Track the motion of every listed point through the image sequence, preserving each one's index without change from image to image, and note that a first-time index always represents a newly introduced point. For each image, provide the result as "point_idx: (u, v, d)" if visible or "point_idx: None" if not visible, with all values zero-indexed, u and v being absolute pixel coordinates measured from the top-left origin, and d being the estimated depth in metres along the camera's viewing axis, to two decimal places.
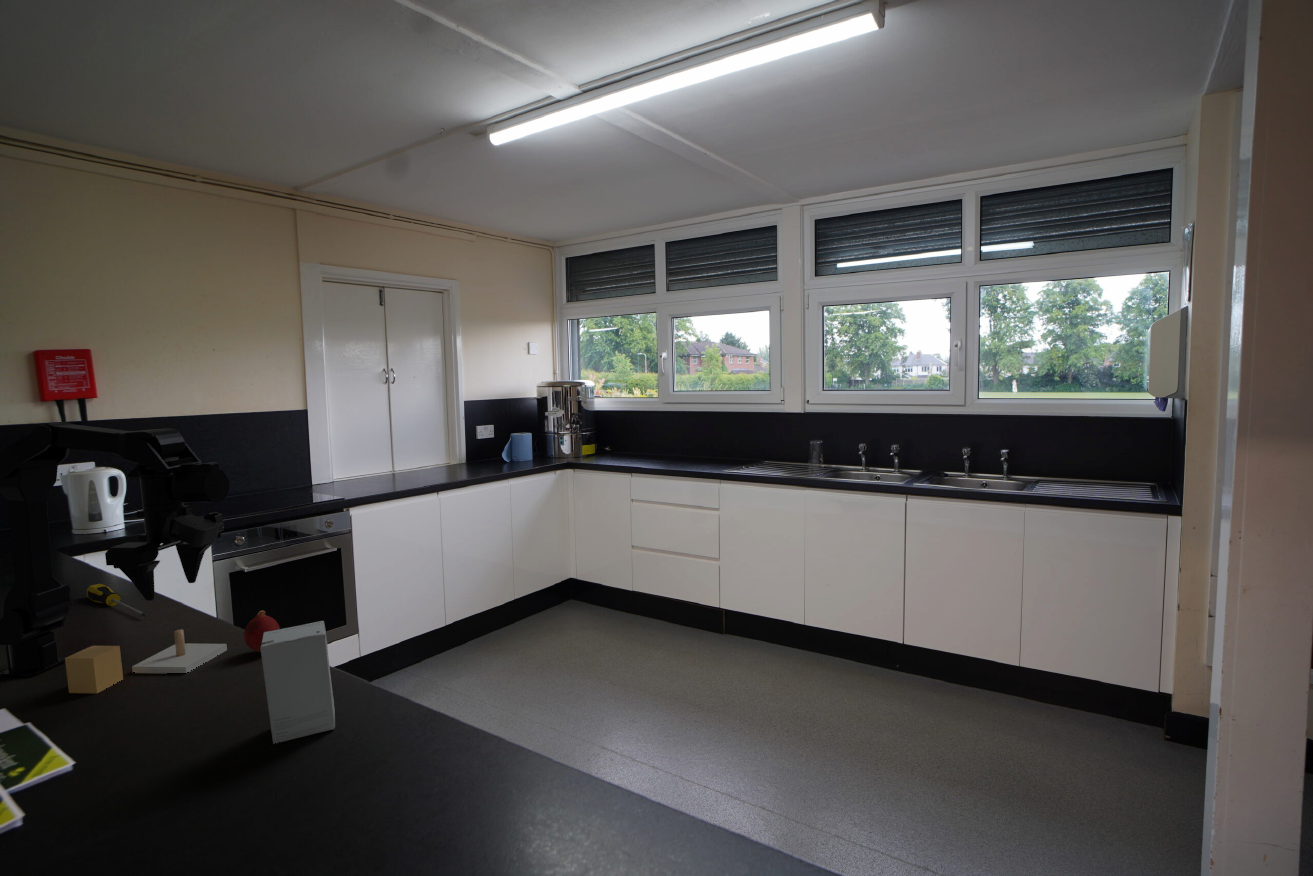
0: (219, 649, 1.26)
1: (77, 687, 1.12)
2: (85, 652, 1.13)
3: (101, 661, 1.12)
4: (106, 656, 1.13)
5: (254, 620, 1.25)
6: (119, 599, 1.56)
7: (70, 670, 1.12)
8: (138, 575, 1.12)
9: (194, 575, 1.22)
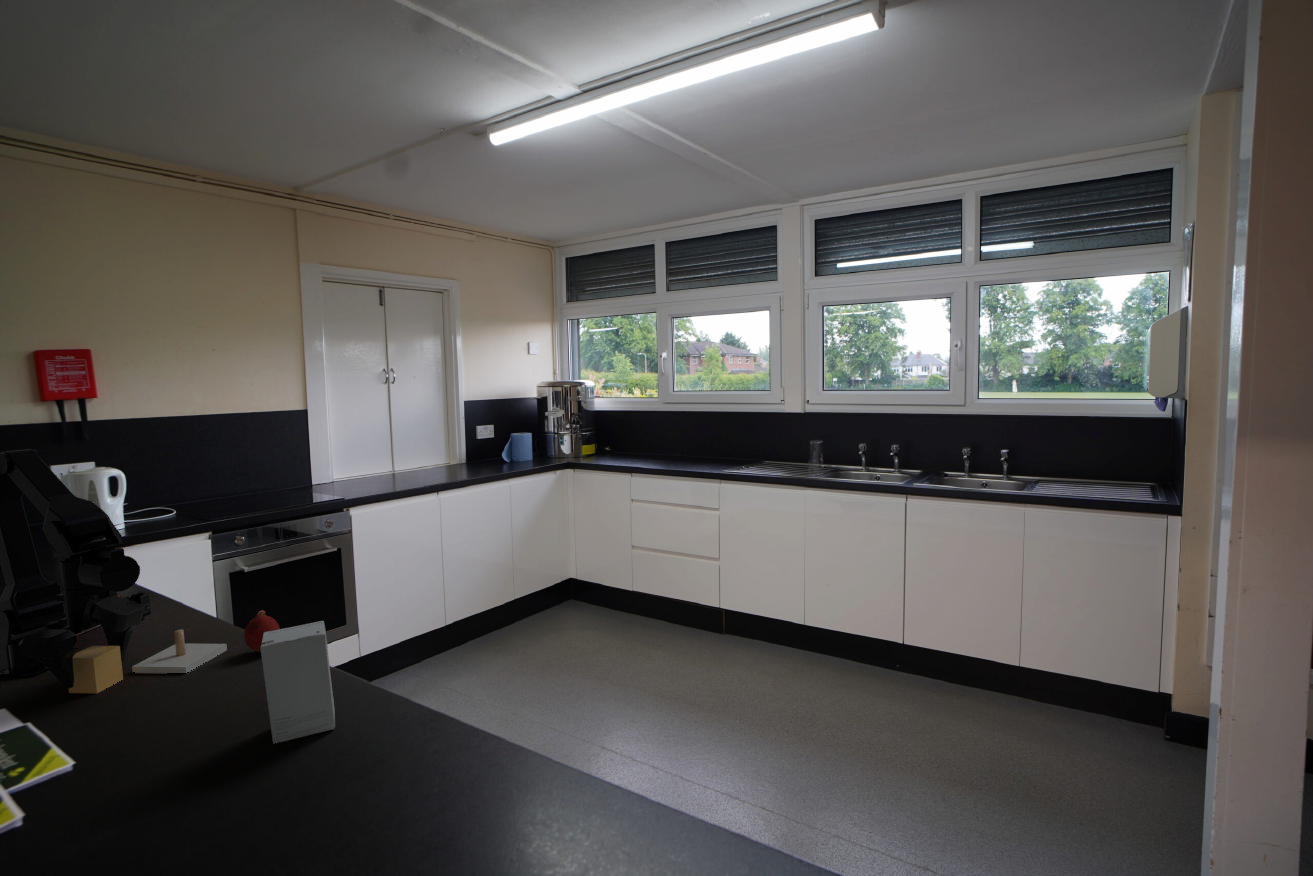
0: (219, 649, 1.26)
1: (77, 687, 1.12)
2: (85, 652, 1.13)
3: (101, 661, 1.12)
4: (106, 656, 1.13)
5: (254, 620, 1.25)
6: None
7: None
8: (56, 663, 1.08)
9: (121, 655, 1.19)
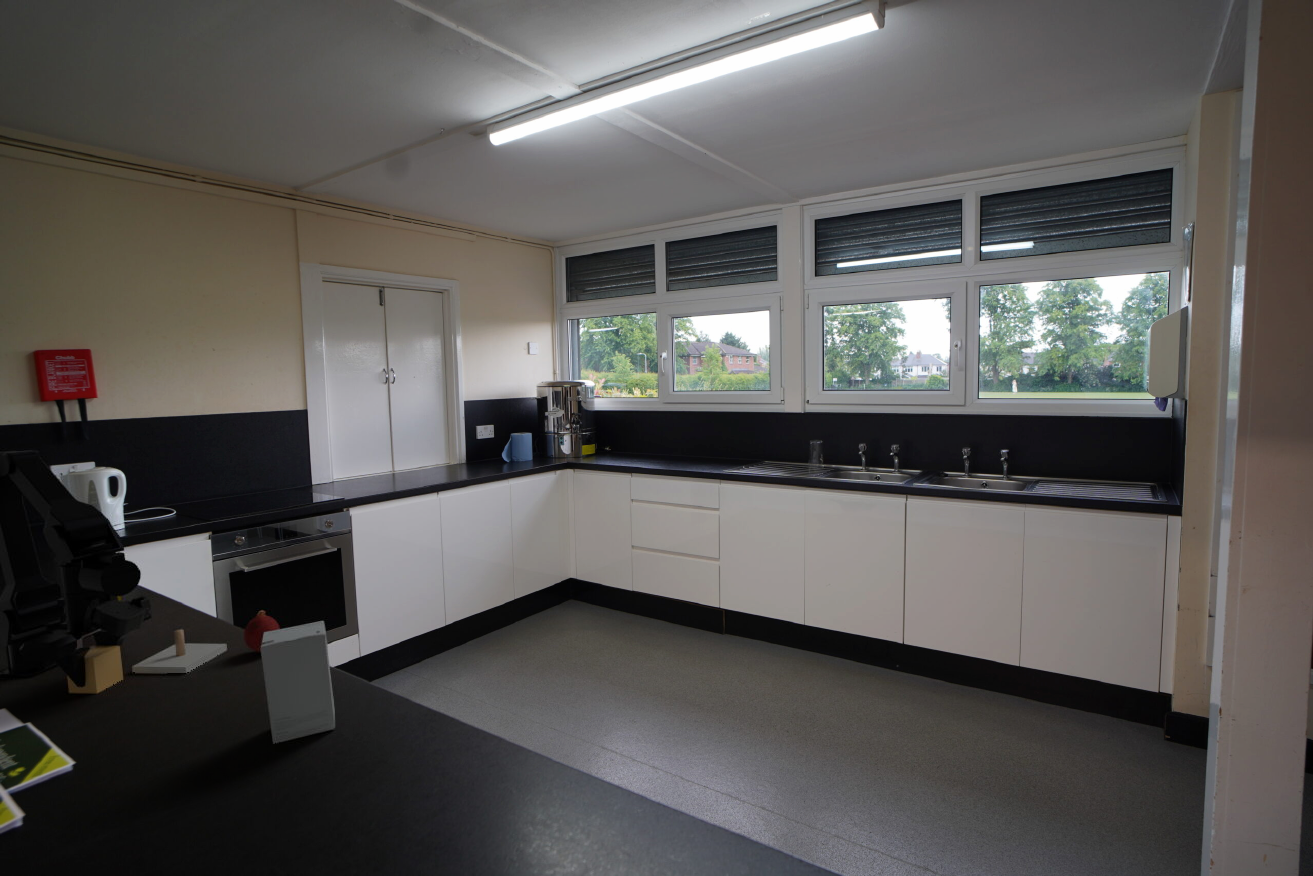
0: (219, 649, 1.26)
1: (77, 687, 1.12)
2: None
3: (101, 661, 1.12)
4: (107, 656, 1.13)
5: (254, 620, 1.25)
6: (119, 599, 1.56)
7: None
8: (68, 662, 1.10)
9: None
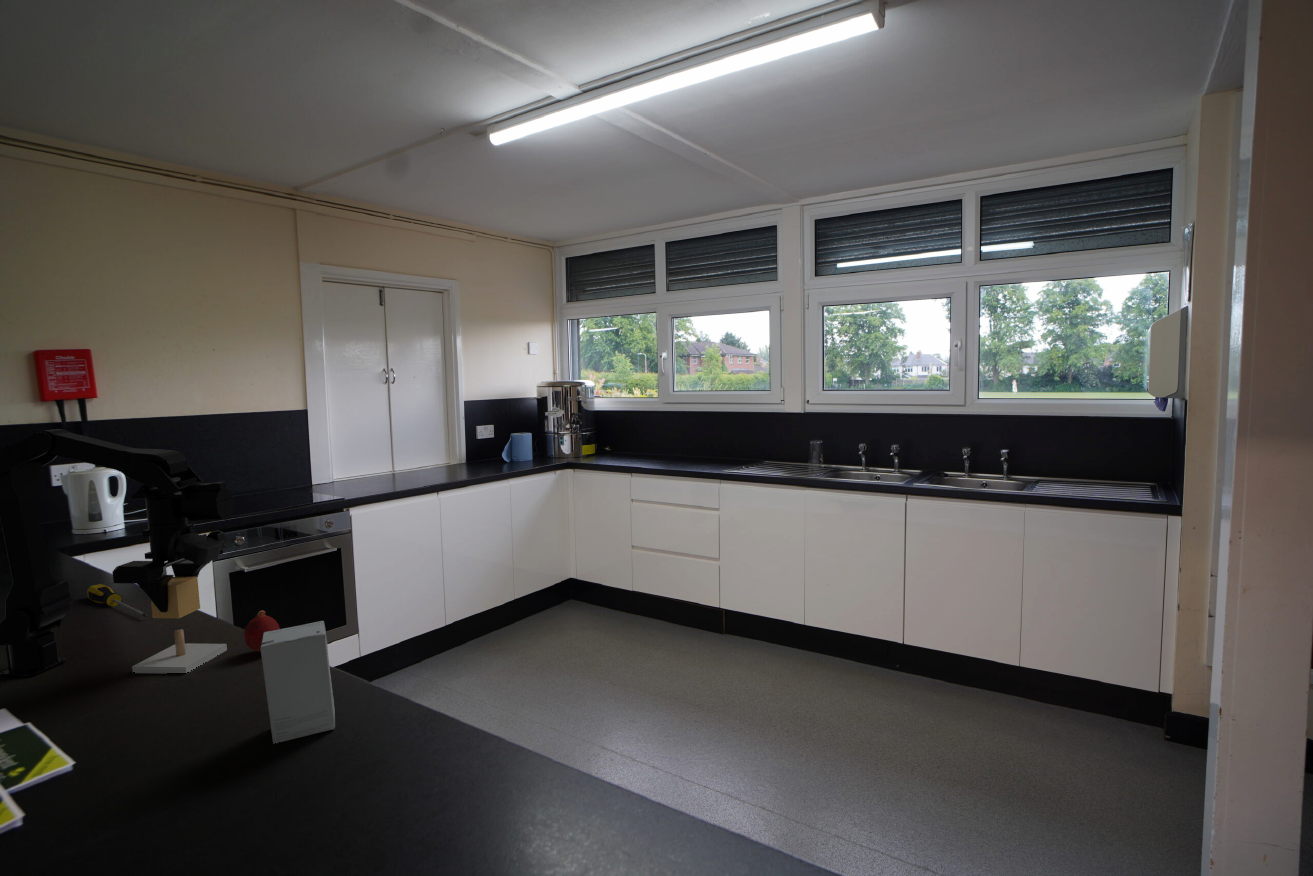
0: (219, 649, 1.26)
1: (160, 612, 1.20)
2: None
3: (182, 589, 1.21)
4: (187, 585, 1.22)
5: (254, 620, 1.25)
6: (120, 599, 1.56)
7: None
8: (153, 588, 1.18)
9: None
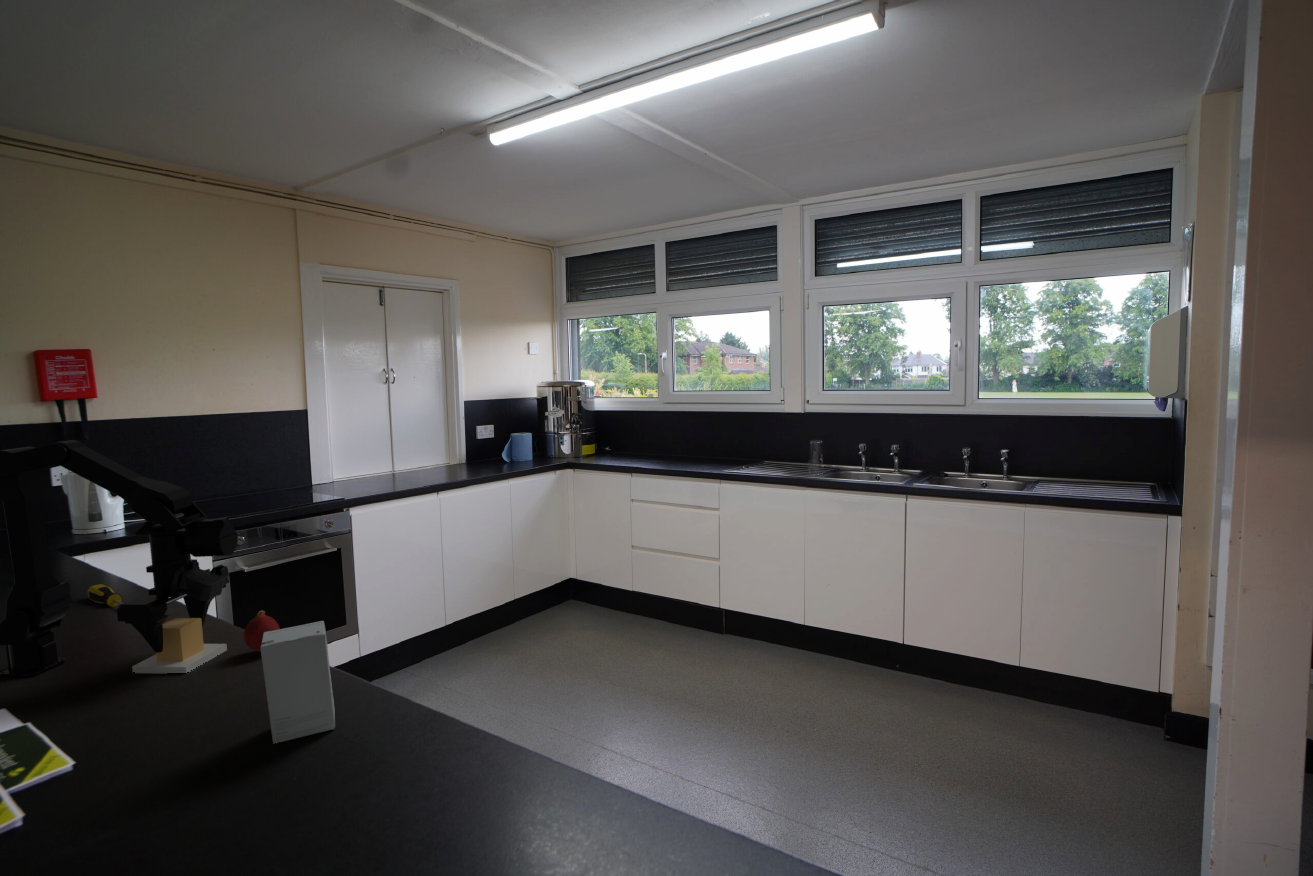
0: (219, 649, 1.26)
1: (164, 655, 1.21)
2: (171, 623, 1.23)
3: (186, 631, 1.22)
4: (190, 627, 1.23)
5: (254, 620, 1.25)
6: (120, 599, 1.56)
7: None
8: (148, 629, 1.17)
9: None
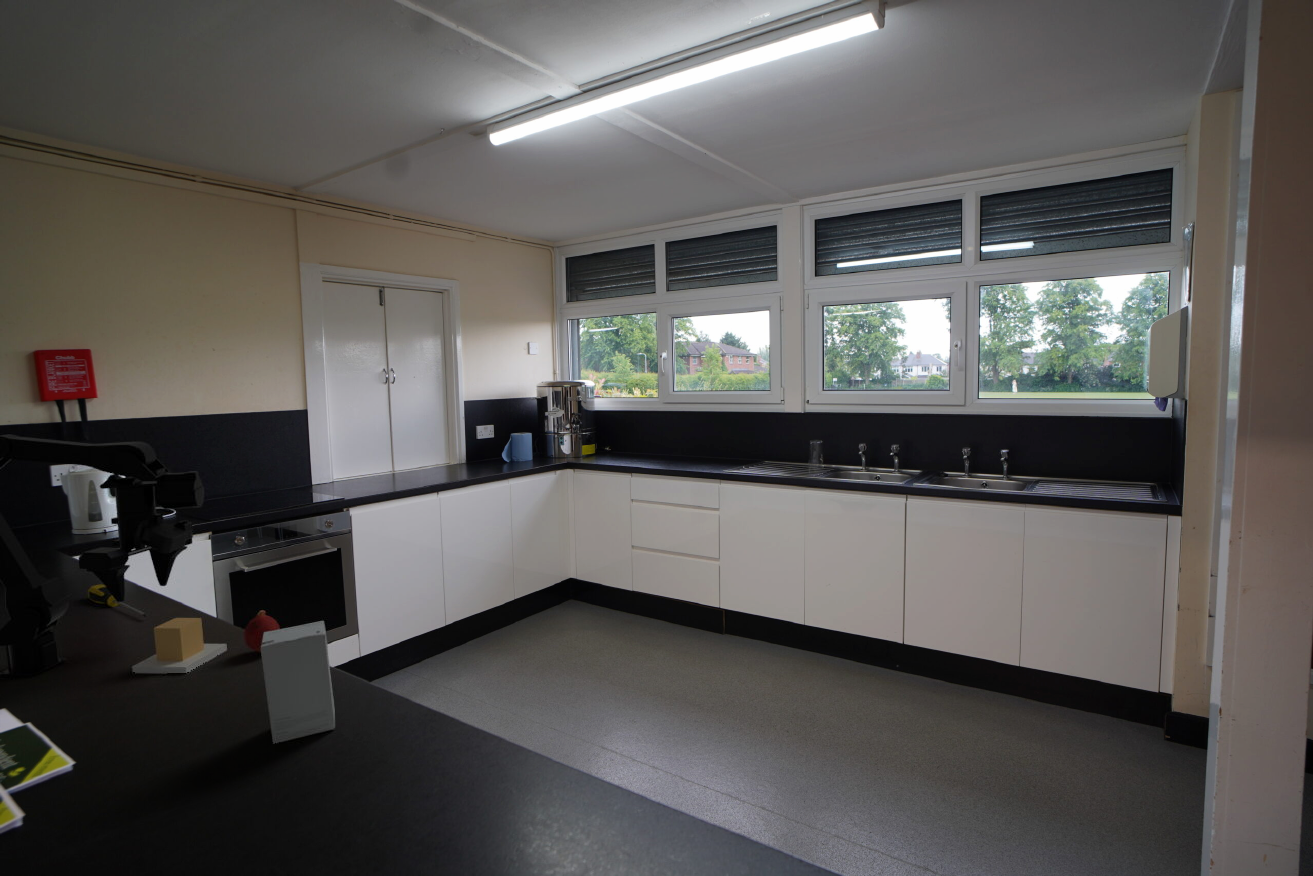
0: (219, 649, 1.26)
1: (164, 655, 1.21)
2: (171, 623, 1.23)
3: (186, 631, 1.22)
4: (190, 627, 1.23)
5: (254, 620, 1.25)
6: None
7: (158, 639, 1.21)
8: (109, 578, 1.20)
9: (166, 578, 1.31)
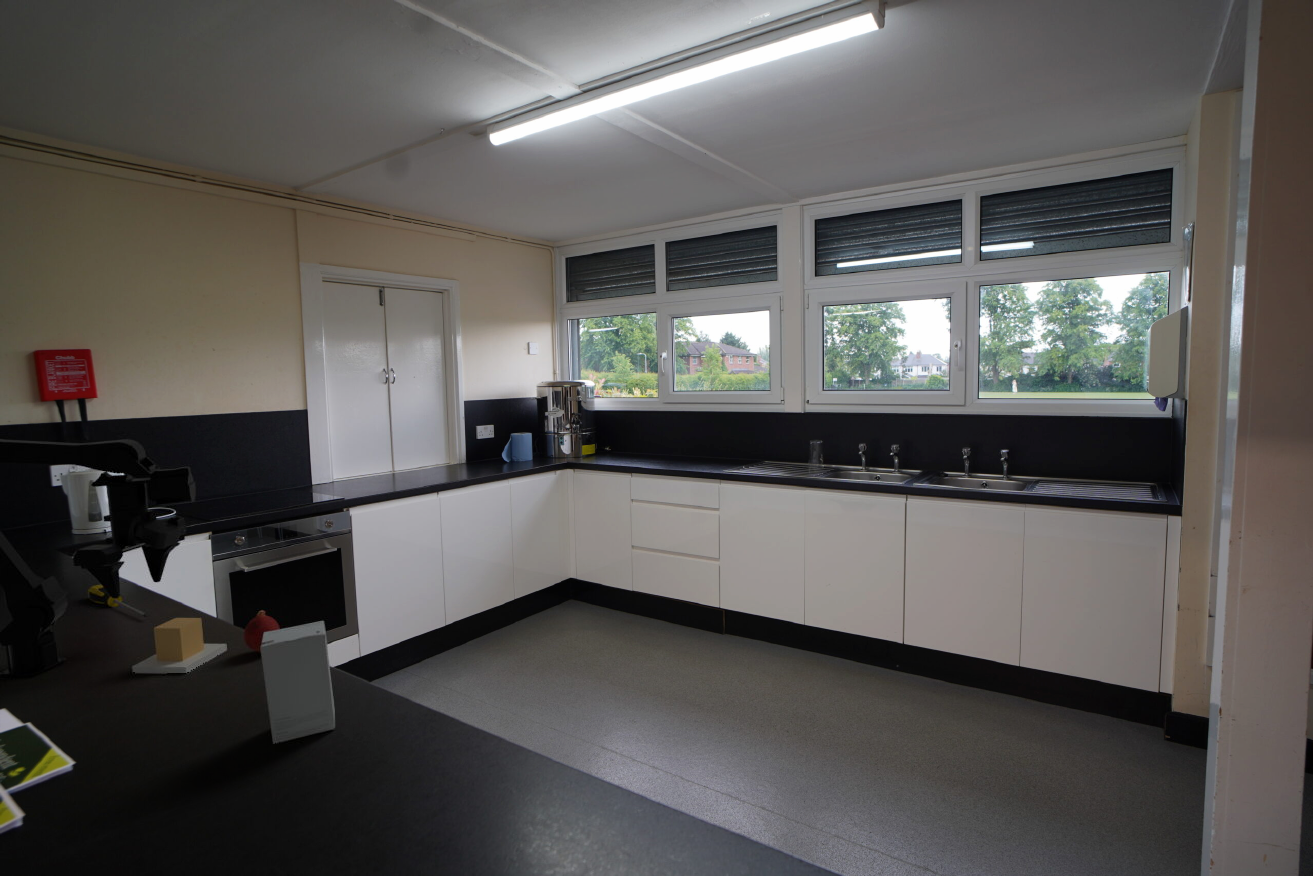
0: (219, 649, 1.26)
1: (164, 655, 1.21)
2: (171, 623, 1.23)
3: (186, 631, 1.22)
4: (190, 627, 1.23)
5: (254, 620, 1.25)
6: (121, 600, 1.55)
7: (158, 639, 1.21)
8: (104, 575, 1.21)
9: (159, 574, 1.32)
